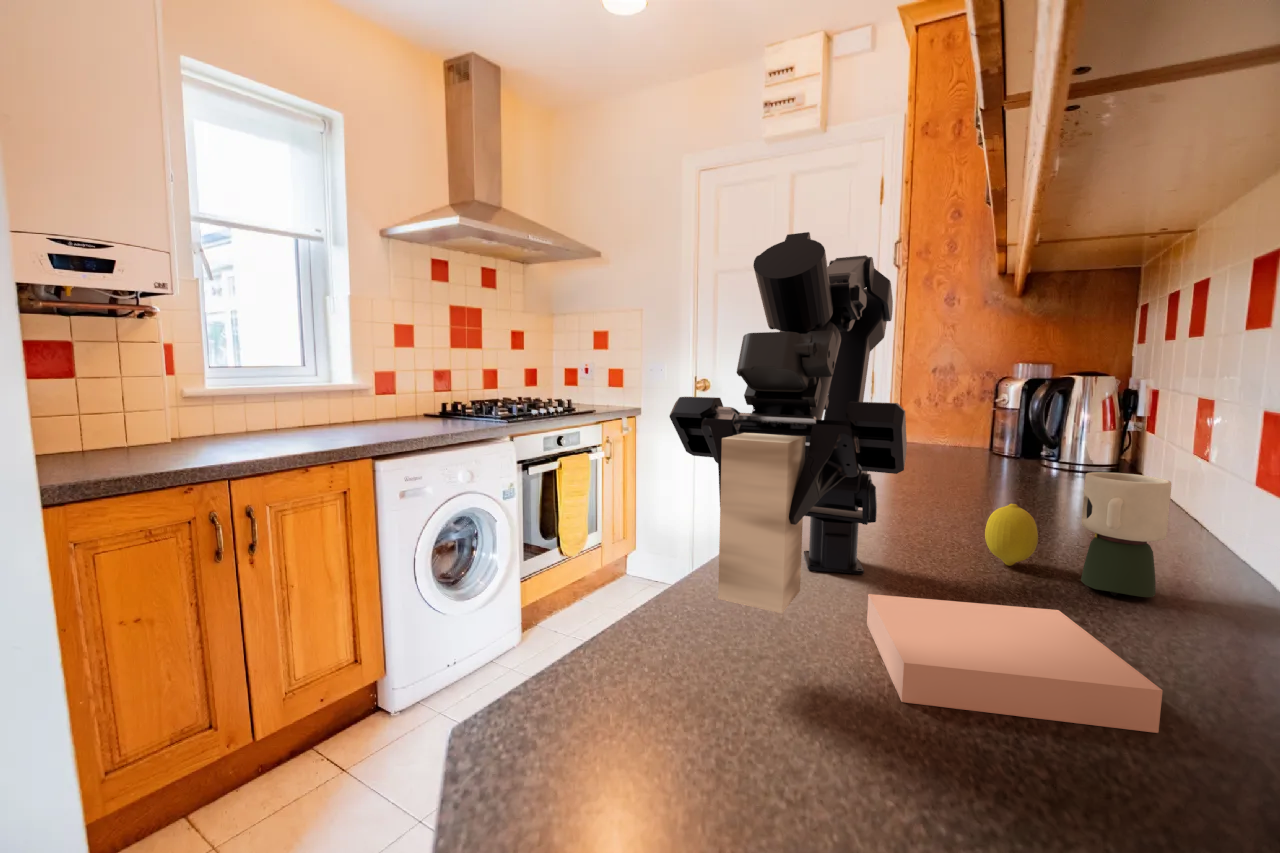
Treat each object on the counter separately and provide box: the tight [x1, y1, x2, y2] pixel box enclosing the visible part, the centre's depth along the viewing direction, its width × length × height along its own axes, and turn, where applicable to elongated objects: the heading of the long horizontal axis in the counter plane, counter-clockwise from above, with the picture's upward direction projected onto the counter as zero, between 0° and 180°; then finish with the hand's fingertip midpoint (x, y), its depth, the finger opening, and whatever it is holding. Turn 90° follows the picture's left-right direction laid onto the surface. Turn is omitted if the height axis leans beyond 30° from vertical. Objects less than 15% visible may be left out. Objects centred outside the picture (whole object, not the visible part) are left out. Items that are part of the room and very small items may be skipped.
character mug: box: [1080, 471, 1172, 598], centre depth 61 cm, size 11×7×13 cm, turn 129°
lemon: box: [984, 503, 1039, 567], centre depth 70 cm, size 6×6×8 cm
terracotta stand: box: [866, 593, 1164, 734], centre depth 45 cm, size 13×16×3 cm
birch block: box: [717, 433, 806, 614], centre depth 43 cm, size 5×5×12 cm
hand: (756, 516), depth 42 cm, fingers closed on birch block, 5 cm apart
